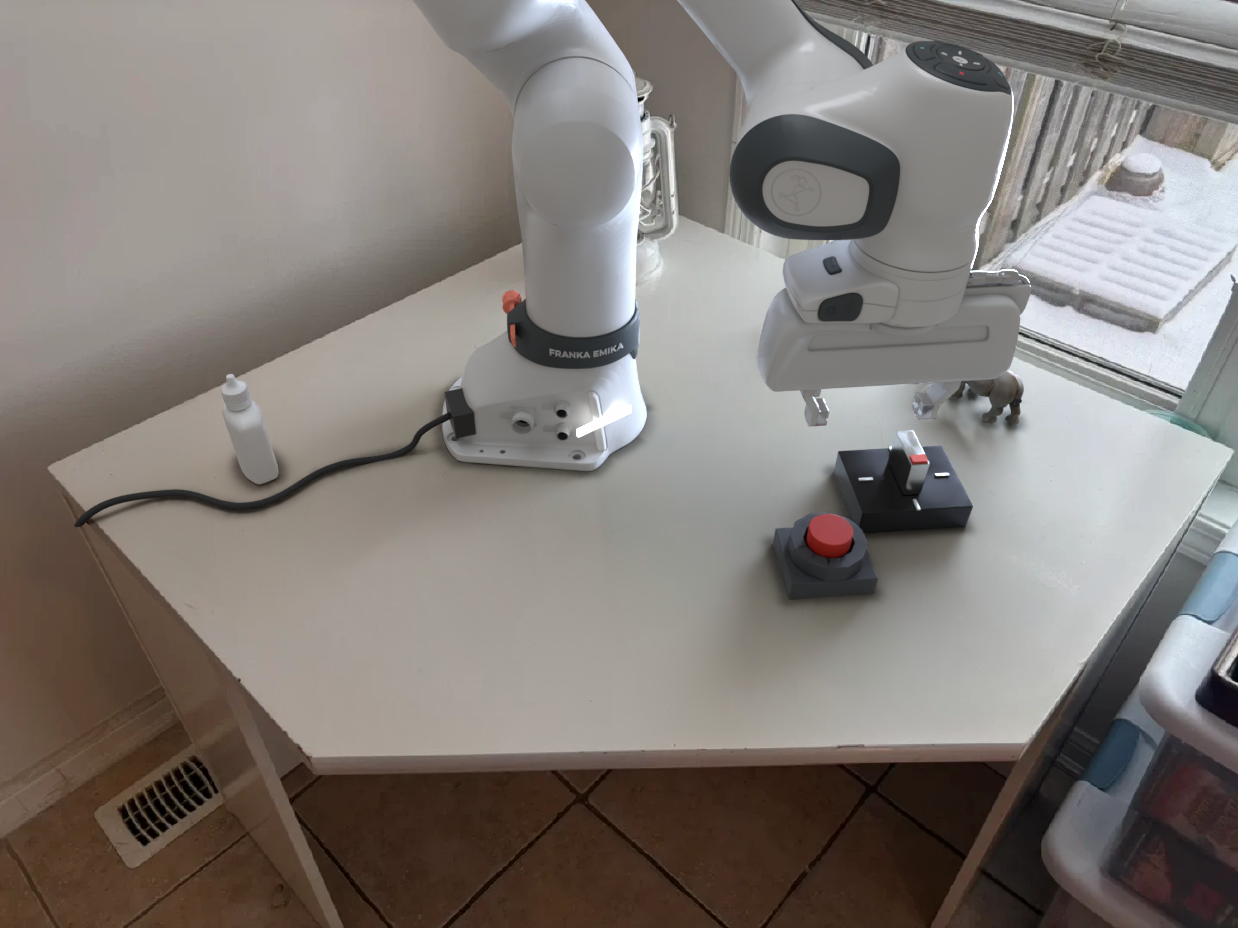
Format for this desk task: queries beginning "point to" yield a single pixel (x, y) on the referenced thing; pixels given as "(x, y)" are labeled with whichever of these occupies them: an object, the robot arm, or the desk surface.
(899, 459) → the knob
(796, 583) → the igniter
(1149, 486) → the desk surface
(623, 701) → the desk surface
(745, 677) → the desk surface
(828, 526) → the button
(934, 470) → the hob panel
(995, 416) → the rhino figurine
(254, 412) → the eye dropper bottle
